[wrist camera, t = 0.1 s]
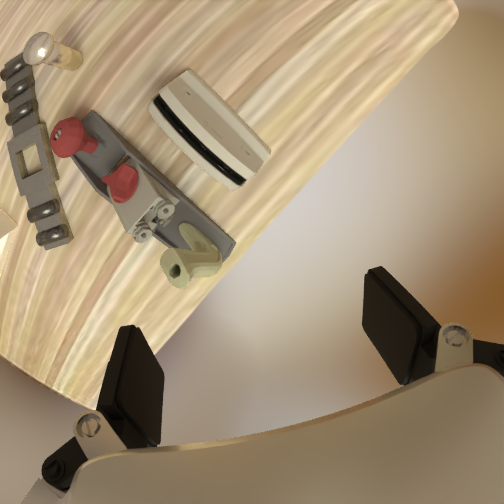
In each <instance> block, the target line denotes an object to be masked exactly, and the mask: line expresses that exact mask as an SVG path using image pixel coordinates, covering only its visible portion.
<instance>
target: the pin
mask: <svg viewBox="0 0 504 504" xmlns="http://www.w3.org/2000/svg"><path fill="white" fill-rule="evenodd" d="M23 59H24V61H25V62H26V63H27V64H30V65H39V64H42V63H44V64H48V65H52V66H56V67H59V68H63V69H66V70H70V71H73V70H76V69H78V68H79V67H80V66H81V64H82V62H83V55H82V54H81V53H80V52H78V51H76V50H74V49H72V48H69V47H67V46H65V45H63V44H61V43H58V42H56V41H54V38H53V36H52V35H51V34H48V33H46V32H39V33H37V34H35V35H34V36H32V37H31V38H30V39H29V41H28V42H27V44H26V45H25V48H24V51H23Z"/></svg>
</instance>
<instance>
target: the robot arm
mask: <svg viewBox="0 0 504 504" xmlns="http://www.w3.org/2000/svg"><path fill="white" fill-rule="evenodd" d="M362 326H363V329H364V331H365V333H366V334H367V336H368V337H369V338H370V340H371V342H372V343H373V345H374V346H375V347H376V349H377V350H378V352H379V353H380V355H381V357H382V358H383V360H384V361H385V363H386V364H387V366H388V367H389V369H390V370H391V372H392V374H393V375H394V377H395V378H396V380H397V381H398V383H399V384H400V385H402V384H403V385H404V386H403V387H401V388H398V389H396V390H393V391H391V392H389V393H386V394H384V395H381V396H379V397H376V398H374V399H371V400H369V401H366V402H363V403H361V404H358V405H355V406H352V407H350V408H347V409H344V410H341V411H338V412H335V413H332V414H329V415H325V416H322V417H319V418H316V419H312V420H309V421H306V422H302V423H298V424H295V425H291V426H287V427H283V428H278V429H275V430H270V431H265V432H261V433H257V434H251V435H246V436H240V437H235V438H229V439H223V440H216V441H209V442H202V443H193V444H184V445H174V446H163V447H157V445H158V444H160V442H161V423H162V406H163V391H164V372H163V370H162V368H161V366H160V365H159V363H158V361H157V359H156V358H155V356H154V354H153V352H152V350H151V348H150V347H149V345H148V343H147V341H146V339H145V337H144V335H143V333H142V331H141V330H140V328H139V327H137V328H136V327H135V326H134V325H128V326H122V327H120V329H119V331H118V335H117V338H116V341H115V344H114V348H113V351H112V355H111V358H110V361H109V362H108V365H107V369H106V372H105V376H104V380H103V383H102V387H101V391H100V395H99V399H98V403H97V407H96V410H89V411H85V412H84V413H82V414H81V415H79V416H78V417H77V419H76V420H75V422H74V426H73V432H74V435H75V436H74V437H73V438H72V439H70V440H69V441H68V442H67V443H65V444H64V445H63V446H62V447H60V448H59V449H58V450H57V451H56V452H54V453H53V454H52V455H50V456H49V457H48V458H47V459H46V460H45V461H44V463H43V465H42V476H43V478H42V480H41V479H39V478H38V480H37V481H36V482H35V484H34V485H33V487H32V488H31V490H30V491H29V492H28V494H27V495H26V497H25V498H24V500H23V501H22V503H21V504H504V345H503V344H497V343H491V342H485V341H480V340H474V339H473V337H472V333H471V332H470V330H469V329H468V328H467V327H466V326H464V325H462V324H458V323H448V324H446V325H444V326H442V327H441V326H440V324H439V323H438V322H437V321H436V320H435V319H434V318H433V317H432V316H431V315H430V314H429V313H428V311H427V310H426V309H425V308H423V306H422V305H421V304H420V303H419V302H418V301H417V300H416V299H415V298H414V297H413V296H412V295H411V294H410V293H409V292H408V291H407V290H406V289H405V288H404V287H403V286H402V285H401V284H400V283H399V282H398V281H397V280H396V279H395V278H394V277H393V276H392V275H391V274H390V273H389V272H388V271H387V270H386V269H384V268H383V267H382V266H379V267H376V268H373V269H369V270H368V273H367V274H365V277H364V300H363V317H362Z"/></svg>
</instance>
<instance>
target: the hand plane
mask: <svg viewBox="0 0 504 504" xmlns="http://www.w3.org/2000/svg"><path fill="white" fill-rule="evenodd" d="M50 145H51V148H52V150H53V152H54V153H55V154H56V155H57V156H58V157H61V158H66V157H71V158H72V159H73V161H74V162H75V164H76V165H77V166H78V168H79V169H80V171H81V172H82V173H83V175H84V176H85V177H86V179H87V180H88V181H89V183H90V184H91V185H92V187H93V188H94V189H95V191H96V192H98V193H99V194H100V195H101V196H103V197H104V198H105V199H106V200H108V201H109V202H110V203H111V204H113V206H114V208H115V210H116V212H117V214H118V216H119V218H120V220H121V222H122V224H123V227H124V229H125V231H126V233H129V234H133V237H134V239H136V240H135V241H136V242H138V243H143V242H145V241H147V240H148V239H150V237H151V236H154V237H155V238H156V239H158V240H159V241H160V242H162V243H163V244H164V245H166V246H167V247H168V248H169V249H167V250H166V251H165V252H164V253H163V255H162V256H161V259H160V265H161V267H162V269H163V271H164V273H165V275H166V276H167V278H168V280H169V282H170V283H171V284H172V285H173V286H175V287H177V288H179V289H184V288H185V287H187V285H188V284H189V283H190V281H191V279H192V278H195V277H210V276H212V275H214V274H216V273H217V272H218V271H219V270H220V268H221V266H222V263H223V262H224V261H225V260H226V259H227V258H228V257H229V255H230V254H231V252H232V250H233V248H234V246H235V244H236V242H235V241H234V240H233V239H232V238H231V237H230V236H229V235H227V234H226V233H225V232H224V231H223V230H222V229H221V228H220V227H219V226H218V225H217V224H216V223H214V222H213V221H212V220H211V219H210V218H209V217H208V216H207V215H206V214H205V213H204V212H203V211H201V210H200V209H199V208H198V207H197V206H196V205H195V204H194V203H193V202H192V201H191V200H190V199H189V198H187V197H186V196H185V195H184V194H183V193H182V192H181V191H180V190H179V189H178V188H177V187H176V186H174V185H173V184H172V183H171V182H170V181H169V180H168V179H167V178H166V177H165V176H164V175H163V174H162V173H160V172H159V171H158V170H157V169H156V168H155V167H154V166H153V165H152V164H151V163H150V162H149V161H148V160H147V159H145V158H144V157H143V156H142V155H141V154H140V153H139V152H138V151H137V150H136V149H135V148H134V147H133V146H131V145H130V144H129V143H128V142H127V141H126V140H125V139H124V138H123V137H122V136H121V135H120V134H119V133H118V132H116V131H115V130H114V129H113V128H112V127H111V126H110V125H109V124H108V123H107V122H106V121H105V120H104V119H103V118H101V117H100V116H99V115H98V114H97V113H96V112H95V111H91V112H90V113H89V114H88V115H87V116H86V117H85V118H84V119H83V120H82V121H80V120H79V119H77V118H75V117H70V118H67V119H64V120H61V121H59V122H58V123H57V124H56V126H55V127H54V129H53V131H52V133H51V137H50ZM125 153H126V154H128V155H129V156H130V158H129V159H128V160H127V162H126V163H122V164H121V166H120V167H119V168H118V169H117V170H116V171H114V172H113V173H112V174H111V175H108V174H109V173H110V172H111V170H112V169H113V168H114V167H115V165H116V164H117V163H118V162H119V161H120V159H121V158H122V157H123V156H124V155H125Z"/></svg>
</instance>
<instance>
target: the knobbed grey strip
mask: <svg viewBox="0 0 504 504" xmlns="http://www.w3.org/2000/svg"><path fill="white" fill-rule="evenodd" d="M0 77H1V79H2V80H3V81H6V89H7V90H5V91H4V92H3V94H2V98H3V101H4V102H5V103H8V105H9V113H7V114H6V117H5V120H6V123H7V124H8V125H9V126H11V125H12V129H13V134H14V138H13V139H12V140H10V141H9V142H7V146H8V151H9V155H10V159H11V163H12V167H13V171H14V175H15V178H16V182H17V185H18V189H19V192H20V195H21V196H23V195H25V196H26V199H27V202H28V205H29V208H30V209H29V210H28V212H27V217H28V220H29V221H30V222H31V223H34V222H35V225H36V228H37V230H38V233H37V235H36V241H37V243H38V245H39V246H44V248H45V250H49V249H52V248H55V247H58V246H61V245H64V244H67V243H69V242H70V241H71V240H72V239H73V238H74V237H73V234H72V232H71V229H70V226H69V224H68V221H67V218H66V215H65V213H64V210H63V207H62V204H61V201H60V198H59V194H58V191H57V188H56V185H55V181H56V180H58V179H59V176H58V172H57V169H56V165H55V161H54V157H53V153H52V149H51V145H50V141H49V137H48V132H47V127H46V123H44V124H40V120H39V114H38V103H37V101H36V96H35V89H34V85H35V81H34V78H33V72H32V65H30V64H27V63H26V62H25V61H24V59H23V52H22V53H21V54H19V55H18V56H16V57H15V58H13V59H12V60H10V61H9V62H8V63H6V64H5V68H4V69H3V70H2V71H1V72H0ZM35 144H36V146H37V150H38V154H39V158H40V162H41V166H42V169H43V170H42V171H40V172H37V173H35V174H33V175H31V176H28V172H27V169H26V165H25V161H24V157H23V153H22V151H23V150H25V149H27V148H29V147H31V146H33V145H35Z"/></svg>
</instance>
